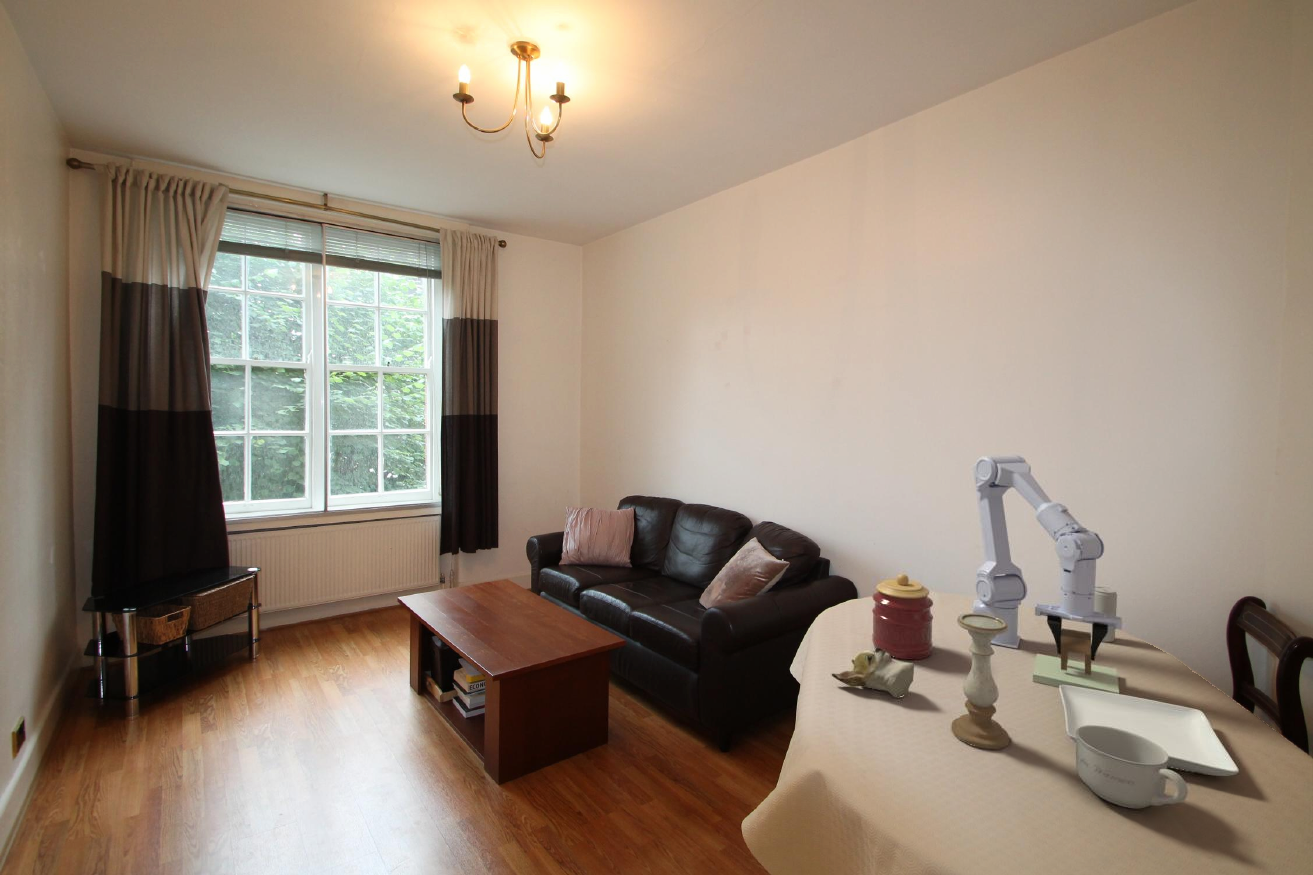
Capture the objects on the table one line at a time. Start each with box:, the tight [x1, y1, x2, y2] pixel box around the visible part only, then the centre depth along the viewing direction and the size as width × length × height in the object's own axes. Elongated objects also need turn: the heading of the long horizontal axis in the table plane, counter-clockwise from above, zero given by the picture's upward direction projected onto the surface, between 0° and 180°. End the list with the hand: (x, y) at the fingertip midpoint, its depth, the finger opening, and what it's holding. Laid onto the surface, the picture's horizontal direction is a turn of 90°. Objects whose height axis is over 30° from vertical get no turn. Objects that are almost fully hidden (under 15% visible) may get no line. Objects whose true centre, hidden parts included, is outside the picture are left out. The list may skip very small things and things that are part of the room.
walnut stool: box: [1060, 628, 1092, 675], centre depth 125 cm, size 5×5×7 cm
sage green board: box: [1032, 653, 1120, 694], centre depth 125 cm, size 14×12×2 cm
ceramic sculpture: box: [831, 648, 915, 698], centre depth 122 cm, size 11×9×15 cm
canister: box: [871, 573, 934, 660], centre depth 140 cm, size 13×13×18 cm
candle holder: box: [950, 612, 1010, 750], centre depth 104 cm, size 9×9×20 cm
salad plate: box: [1058, 685, 1240, 777], centre depth 103 cm, size 21×21×3 cm
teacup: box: [1075, 725, 1189, 809], centre depth 87 cm, size 14×11×8 cm
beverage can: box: [1089, 586, 1118, 643], centre depth 144 cm, size 5×5×12 cm
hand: (1075, 655), depth 125 cm, fingers closed on walnut stool, 5 cm apart
